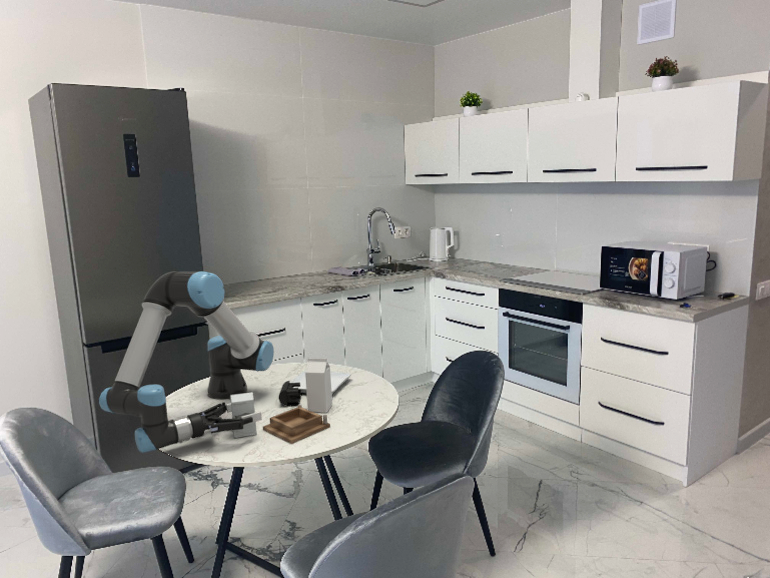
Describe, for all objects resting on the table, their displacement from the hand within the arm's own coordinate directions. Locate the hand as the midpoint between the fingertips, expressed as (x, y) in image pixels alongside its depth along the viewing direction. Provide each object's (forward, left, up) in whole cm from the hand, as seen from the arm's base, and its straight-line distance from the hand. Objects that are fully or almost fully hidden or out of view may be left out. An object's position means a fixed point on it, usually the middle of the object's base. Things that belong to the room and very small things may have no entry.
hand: (253, 409), depth 195 cm
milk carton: (+3, +26, -7) cm, 27 cm away
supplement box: (-1, -3, -7) cm, 8 cm away
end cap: (-11, +23, -8) cm, 26 cm away
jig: (+10, +10, -7) cm, 16 cm away
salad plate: (-15, +40, -8) cm, 43 cm away
